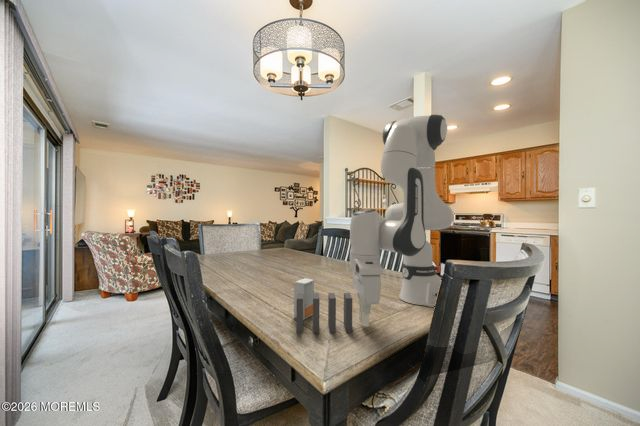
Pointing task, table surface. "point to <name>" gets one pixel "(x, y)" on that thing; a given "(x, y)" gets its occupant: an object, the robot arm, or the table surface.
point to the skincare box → (304, 296)
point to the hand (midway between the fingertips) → (364, 309)
